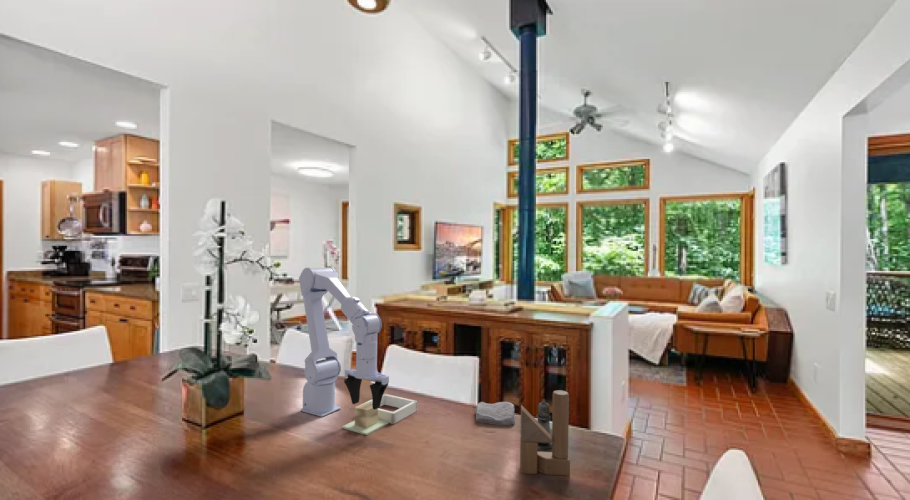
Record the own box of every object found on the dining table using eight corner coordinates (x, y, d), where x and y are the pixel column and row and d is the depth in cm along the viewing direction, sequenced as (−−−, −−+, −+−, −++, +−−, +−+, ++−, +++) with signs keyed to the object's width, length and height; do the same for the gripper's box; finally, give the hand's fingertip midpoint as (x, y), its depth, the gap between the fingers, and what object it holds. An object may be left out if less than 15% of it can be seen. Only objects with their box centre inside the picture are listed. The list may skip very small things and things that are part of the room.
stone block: (516, 432, 121) (514, 412, 130) (516, 417, 120) (514, 398, 130) (475, 432, 121) (475, 412, 131) (474, 417, 120) (475, 398, 130)
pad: (342, 428, 117) (342, 426, 117) (364, 417, 125) (364, 415, 125) (367, 435, 113) (367, 433, 113) (388, 423, 121) (388, 421, 121)
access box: (358, 415, 127) (359, 405, 127) (384, 402, 137) (384, 393, 137) (393, 424, 120) (393, 413, 121) (417, 410, 131) (417, 401, 131)
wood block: (354, 425, 118) (354, 407, 118) (365, 419, 122) (365, 402, 122) (366, 428, 116) (367, 410, 116) (377, 422, 120) (377, 405, 120)
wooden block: (520, 465, 98) (520, 388, 98) (567, 468, 97) (568, 389, 97) (521, 474, 94) (522, 393, 94) (570, 476, 93) (571, 395, 93)
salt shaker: (541, 452, 104) (542, 404, 104) (526, 443, 110) (527, 396, 110) (559, 448, 107) (560, 400, 107) (544, 438, 112) (545, 393, 112)
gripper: (395, 357, 119) (395, 406, 119) (356, 351, 126) (356, 396, 126) (379, 363, 113) (378, 414, 113) (339, 356, 120) (338, 404, 120)
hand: (365, 405), depth 119 cm, fingers open, 7 cm apart
